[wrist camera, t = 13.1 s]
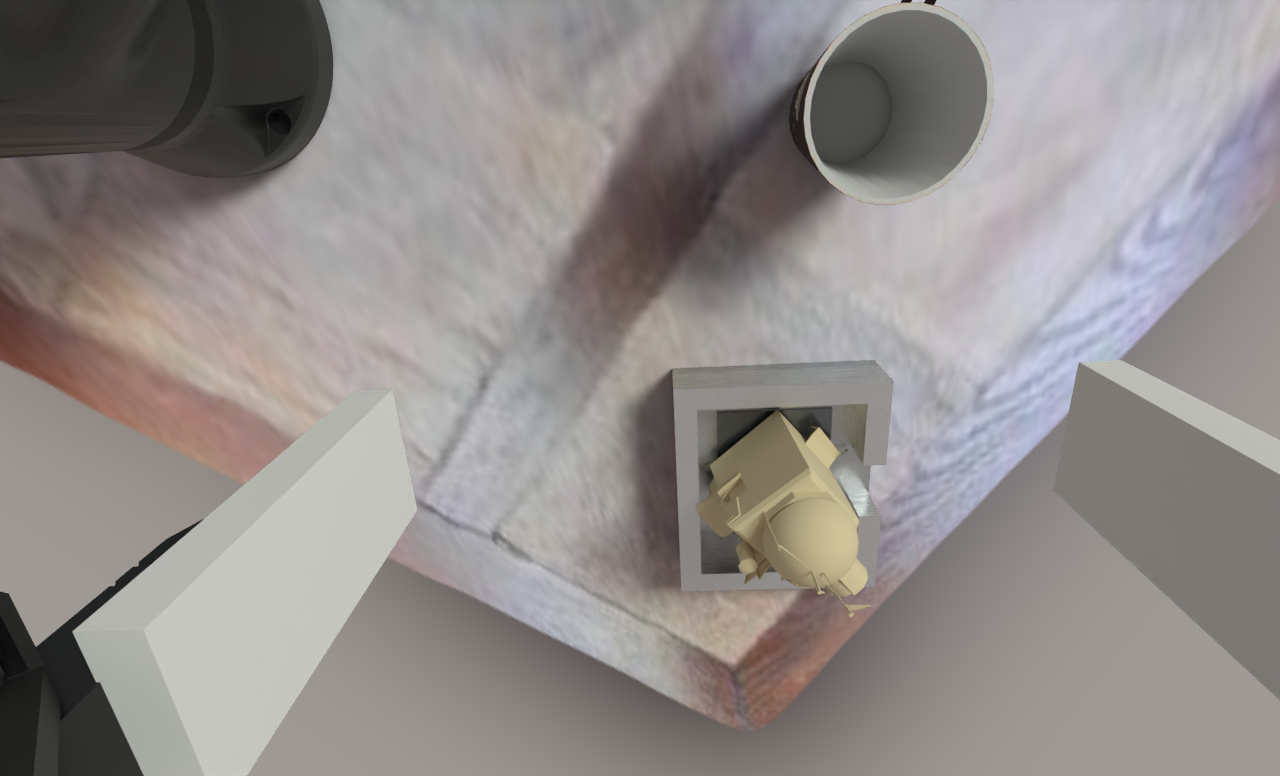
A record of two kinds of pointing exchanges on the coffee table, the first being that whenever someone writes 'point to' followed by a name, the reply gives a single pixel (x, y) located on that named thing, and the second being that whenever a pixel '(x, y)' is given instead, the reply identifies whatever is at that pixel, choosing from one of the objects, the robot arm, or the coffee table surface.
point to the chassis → (736, 404)
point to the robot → (786, 509)
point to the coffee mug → (895, 103)
